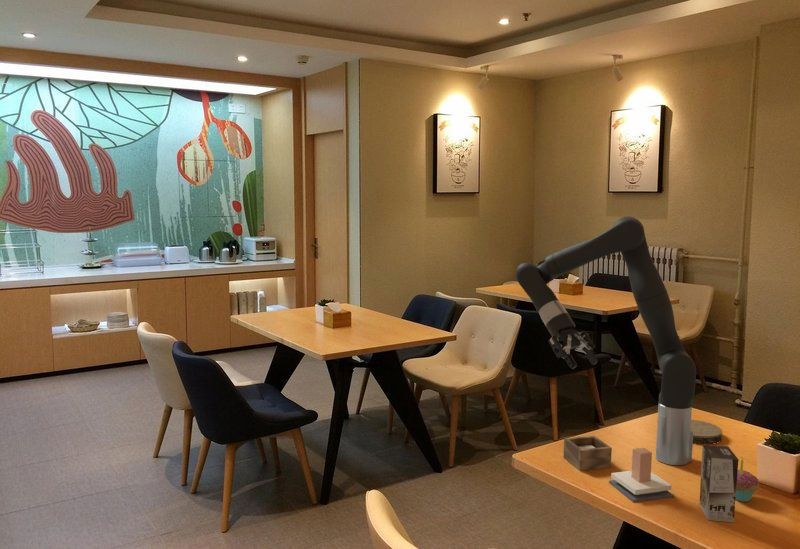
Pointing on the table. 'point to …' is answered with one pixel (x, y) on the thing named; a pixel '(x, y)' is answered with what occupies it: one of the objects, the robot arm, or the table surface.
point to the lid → (641, 475)
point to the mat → (642, 496)
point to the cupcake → (745, 484)
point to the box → (587, 453)
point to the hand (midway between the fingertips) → (585, 365)
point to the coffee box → (718, 483)
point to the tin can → (705, 432)
